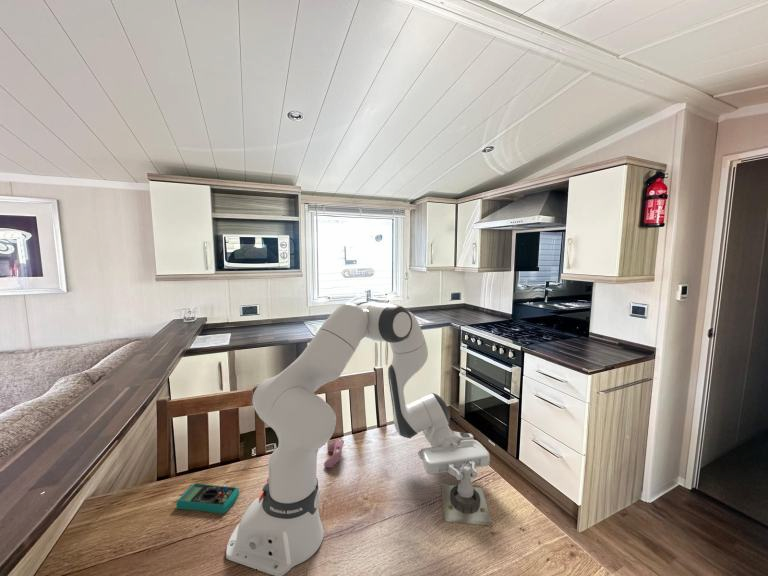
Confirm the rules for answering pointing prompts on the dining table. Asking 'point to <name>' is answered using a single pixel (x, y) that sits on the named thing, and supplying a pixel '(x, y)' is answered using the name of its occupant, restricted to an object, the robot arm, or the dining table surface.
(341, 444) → the pink irregular piece
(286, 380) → the robot arm
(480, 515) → the socket block
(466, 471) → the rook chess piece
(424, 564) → the dining table surface
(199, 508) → the digital multimeter
